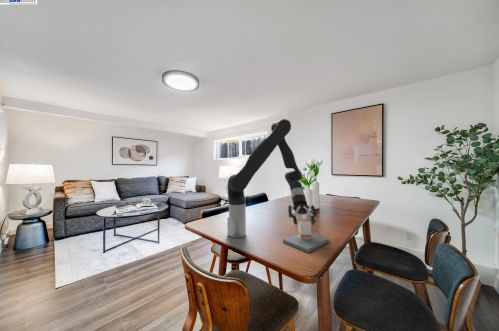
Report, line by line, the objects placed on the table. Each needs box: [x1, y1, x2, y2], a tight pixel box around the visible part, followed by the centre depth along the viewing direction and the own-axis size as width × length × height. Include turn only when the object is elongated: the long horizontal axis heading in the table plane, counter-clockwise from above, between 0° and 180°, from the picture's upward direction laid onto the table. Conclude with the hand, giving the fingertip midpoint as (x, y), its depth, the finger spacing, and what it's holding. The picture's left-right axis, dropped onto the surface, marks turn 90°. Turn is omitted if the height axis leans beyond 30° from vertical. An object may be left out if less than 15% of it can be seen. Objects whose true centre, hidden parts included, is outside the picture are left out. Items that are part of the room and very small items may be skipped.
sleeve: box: [297, 218, 312, 238], centre depth 92 cm, size 5×5×8 cm
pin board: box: [282, 232, 330, 253], centre depth 89 cm, size 18×14×5 cm
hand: (304, 224), depth 91 cm, fingers open, 8 cm apart
